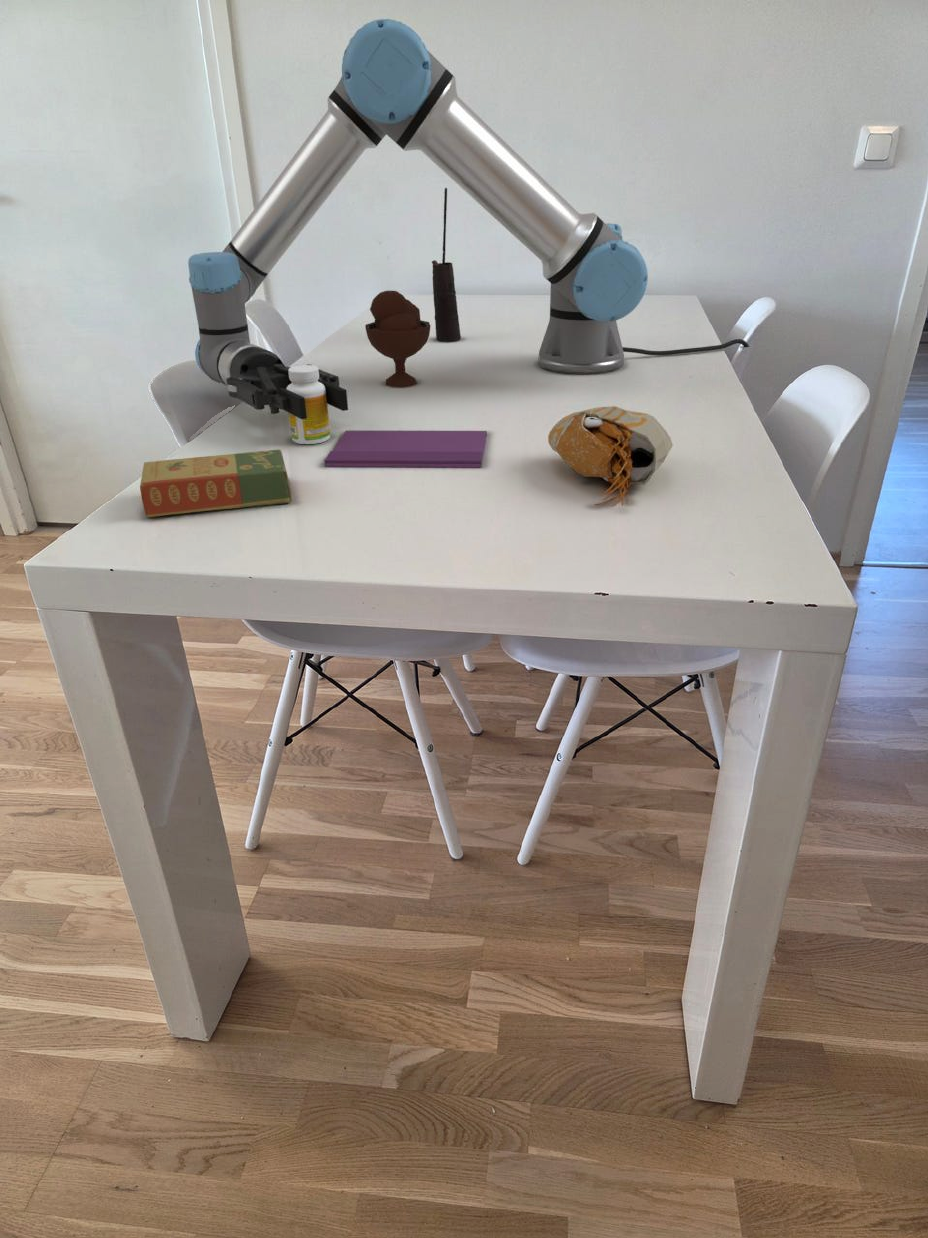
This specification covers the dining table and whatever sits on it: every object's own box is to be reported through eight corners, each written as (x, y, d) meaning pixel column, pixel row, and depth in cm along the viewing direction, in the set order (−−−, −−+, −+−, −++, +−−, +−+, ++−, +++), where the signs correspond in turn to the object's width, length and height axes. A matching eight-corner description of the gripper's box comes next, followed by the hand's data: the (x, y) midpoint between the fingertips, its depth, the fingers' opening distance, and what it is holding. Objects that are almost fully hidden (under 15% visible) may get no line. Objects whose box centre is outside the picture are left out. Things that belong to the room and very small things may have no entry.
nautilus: (667, 525, 90) (528, 521, 94) (673, 450, 107) (556, 449, 111) (670, 455, 86) (525, 454, 89) (676, 388, 103) (555, 390, 107)
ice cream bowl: (425, 392, 138) (421, 295, 130) (360, 389, 140) (352, 294, 132) (439, 376, 147) (436, 284, 139) (378, 374, 149) (372, 284, 141)
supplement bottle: (337, 434, 118) (330, 364, 114) (319, 446, 114) (311, 374, 109) (303, 431, 120) (295, 362, 115) (284, 443, 116) (275, 371, 111)
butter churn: (414, 337, 176) (407, 187, 162) (455, 332, 179) (452, 185, 165) (431, 345, 169) (425, 188, 155) (474, 340, 172) (472, 186, 158)
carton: (150, 494, 100) (142, 459, 98) (286, 479, 103) (282, 445, 101) (146, 520, 93) (138, 483, 91) (292, 503, 96) (288, 467, 94)
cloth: (486, 433, 118) (486, 427, 117) (481, 467, 106) (481, 461, 105) (346, 433, 119) (345, 427, 119) (324, 466, 107) (324, 460, 107)
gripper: (310, 386, 133) (386, 419, 117) (198, 407, 124) (262, 446, 107) (305, 337, 129) (382, 364, 113) (189, 355, 120) (254, 387, 104)
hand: (324, 404), depth 110 cm, fingers closed on supplement bottle, 5 cm apart
